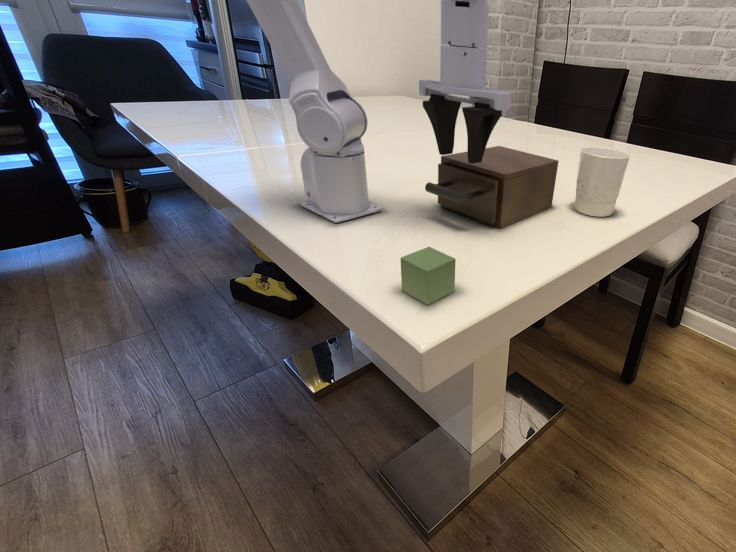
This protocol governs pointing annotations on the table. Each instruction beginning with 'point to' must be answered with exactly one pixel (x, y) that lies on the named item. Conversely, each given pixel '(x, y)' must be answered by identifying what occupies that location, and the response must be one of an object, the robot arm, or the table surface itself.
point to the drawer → (467, 191)
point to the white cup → (599, 180)
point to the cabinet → (513, 181)
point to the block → (428, 275)
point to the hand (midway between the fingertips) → (460, 158)
